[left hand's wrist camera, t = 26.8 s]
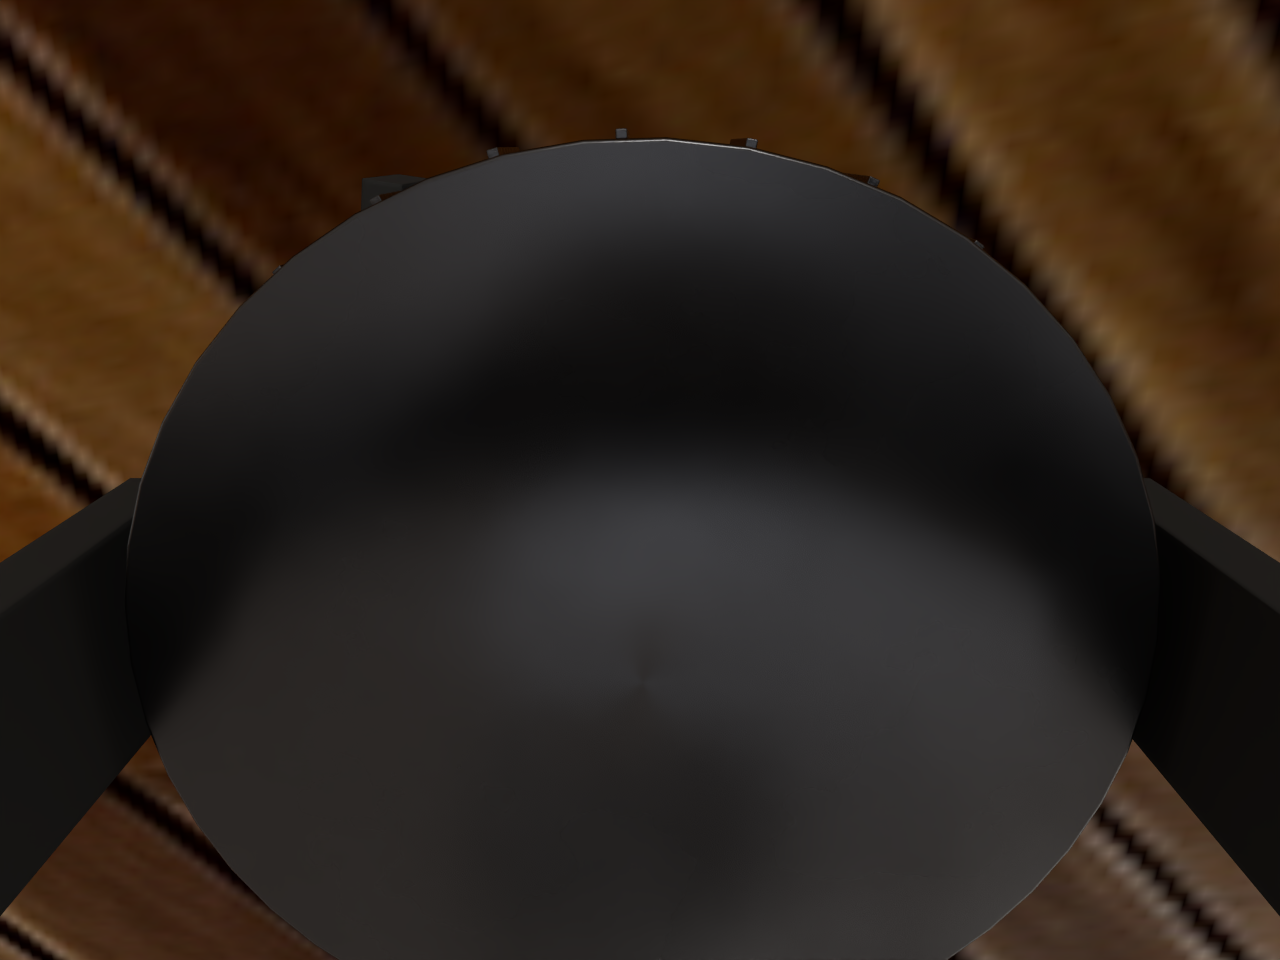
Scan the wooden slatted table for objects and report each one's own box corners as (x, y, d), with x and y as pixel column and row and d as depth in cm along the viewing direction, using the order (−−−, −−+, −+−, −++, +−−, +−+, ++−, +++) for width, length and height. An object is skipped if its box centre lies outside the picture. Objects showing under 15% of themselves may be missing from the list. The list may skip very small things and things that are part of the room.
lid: (1263, 462, 11) (1402, 533, 9) (751, 1018, 15) (770, 1161, 13) (469, -92, 9) (420, -161, 7) (84, 704, 13) (-26, 815, 11)
